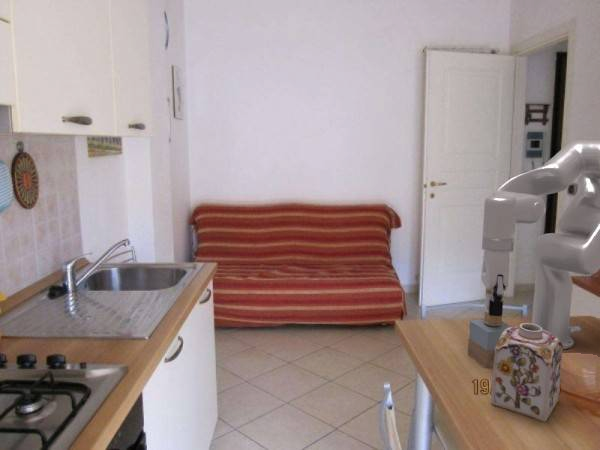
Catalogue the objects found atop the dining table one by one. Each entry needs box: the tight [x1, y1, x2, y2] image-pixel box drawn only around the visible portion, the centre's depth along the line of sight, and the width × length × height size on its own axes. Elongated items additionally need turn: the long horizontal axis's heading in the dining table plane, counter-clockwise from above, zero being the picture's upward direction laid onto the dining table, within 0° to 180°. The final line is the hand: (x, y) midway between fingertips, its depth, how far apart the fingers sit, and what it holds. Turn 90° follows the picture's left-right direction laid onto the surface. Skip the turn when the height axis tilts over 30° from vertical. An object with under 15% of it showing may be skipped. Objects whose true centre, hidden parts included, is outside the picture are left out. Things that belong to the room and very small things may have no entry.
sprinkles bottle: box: [483, 283, 504, 326], centre depth 129 cm, size 5×5×13 cm
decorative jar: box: [490, 322, 564, 423], centre depth 109 cm, size 12×12×18 cm
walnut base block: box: [467, 338, 495, 369], centre depth 132 cm, size 8×8×5 cm
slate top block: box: [468, 318, 512, 351], centre depth 131 cm, size 8×8×5 cm
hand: (493, 311), depth 130 cm, fingers closed on sprinkles bottle, 4 cm apart
